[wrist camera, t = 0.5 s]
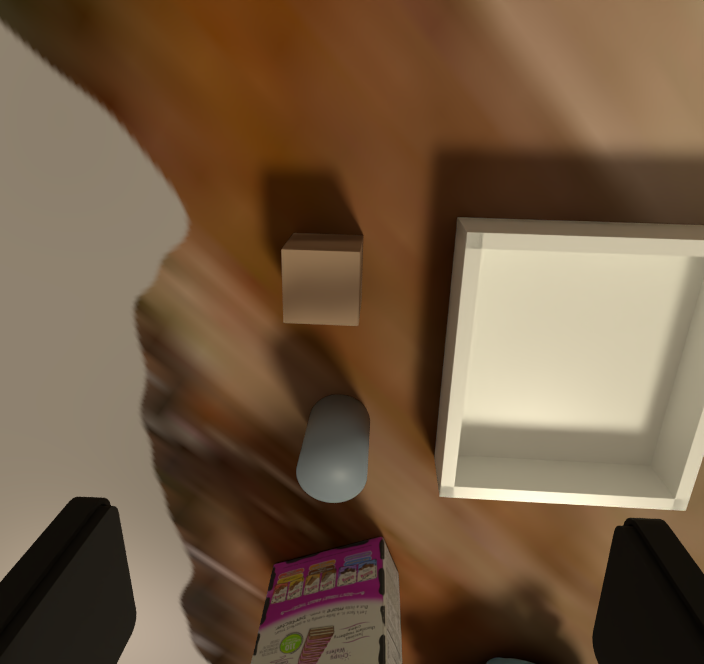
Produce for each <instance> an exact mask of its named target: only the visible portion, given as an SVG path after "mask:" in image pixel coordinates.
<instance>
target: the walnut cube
mask: <svg viewBox="0 0 704 664" xmlns="http://www.w3.org/2000/svg"><path fill="white" fill-rule="evenodd" d="M281 255H282V288H283V321H284V323H300V324H324V325H348V326H358V324H359V316H360V309H361V298H362V264H363V235H344V234H314V233H293V234H292V236H291V237H290V238H289V240H288V241H287V242H286V244H285V245H284V246H283V248H282V249H281Z"/></svg>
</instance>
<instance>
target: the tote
mask: <svg viewBox="0 0 704 664" xmlns="http://www.w3.org/2000/svg"><path fill="white" fill-rule="evenodd" d="M703 456H704V225H684V224H653V223H622V222H592V221H561V220H530V219H499V218H469V217H457V226H456V236H455V247H454V257H453V268H452V278H451V288H450V299H449V309H448V320H447V330H446V341H445V351H444V361H443V372H442V382H441V393H440V403H439V414H438V424H437V434H436V445H435V455H434V458H435V466H436V473H437V481H438V488H439V495H440V497H454V498H471V499H489V500H506V501H524V502H541V503H559V504H576V505H594V506H611V507H628V508H646V509H663V510H681V511H686V508H687V505H688V502H689V499H690V496H691V493H692V490H693V486H694V483H695V480H696V477H697V474H698V471H699V468H700V465H701V462H702V459H703Z"/></svg>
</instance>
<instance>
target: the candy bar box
mask: <svg viewBox="0 0 704 664" xmlns="http://www.w3.org/2000/svg"><path fill="white" fill-rule="evenodd" d="M251 664H402V642H401V620H400V596H399V576H398V571H397V568H396V566H395V564H394V562H393V560H392V558H391V556H390V553H389V551H388V548H387V546H386V543H385V541H384V539H383V537H377V538H373V539H369V540H365V541H361V542H358V543H354V544H350V545H346V546H342V547H339V548H335V549H331V550H328V551H324V552H320V553H316V554H312V555H309V556H305V557H301V558H297V559H294V560H290V561H286V562H282V563H278V564H274V566H273V571H272V574H271V579H270V583H269V587H268V592H267V596H266V601H265V605H264V609H263V614H262V618H261V623H260V627H259V631H258V636H257V641H256V646H255V649H254V654H253V657H252V661H251Z"/></svg>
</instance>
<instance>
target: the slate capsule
mask: <svg viewBox="0 0 704 664" xmlns="http://www.w3.org/2000/svg"><path fill="white" fill-rule="evenodd" d="M369 431H370V418H369V414H368V412H367V410H366V408H365V407H364V405H363V404H362V403H360V402H359V401H358V400H356V399H355V398H353V397H350V396H347V395H330V396H327V397H324V398H323V399H321V400H319V401H318V402H317V403H316V404H315V405H314V407H313V408H312V410H311V413H310V417H309V421H308V425H307V429H306V433H305V436H304V440H303V444H302V448H301V452H300V456H299V460H298V464H297V469H296V474H297V479H298V482H299V484H300V486H301V487H302V489H303V490H304V491H305V492H306V493H307V494H309V495H310V496H312V497H313V498H315V499H317V500H320V501H323V502H329V503H338V502H344V501H347V500H350V499H352V498H354V497H355V496H357V495H358V494H359V493H360V492H361V491H362V489H363V488H364V486H365V484H366V480H367V468H368V449H369Z"/></svg>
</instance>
